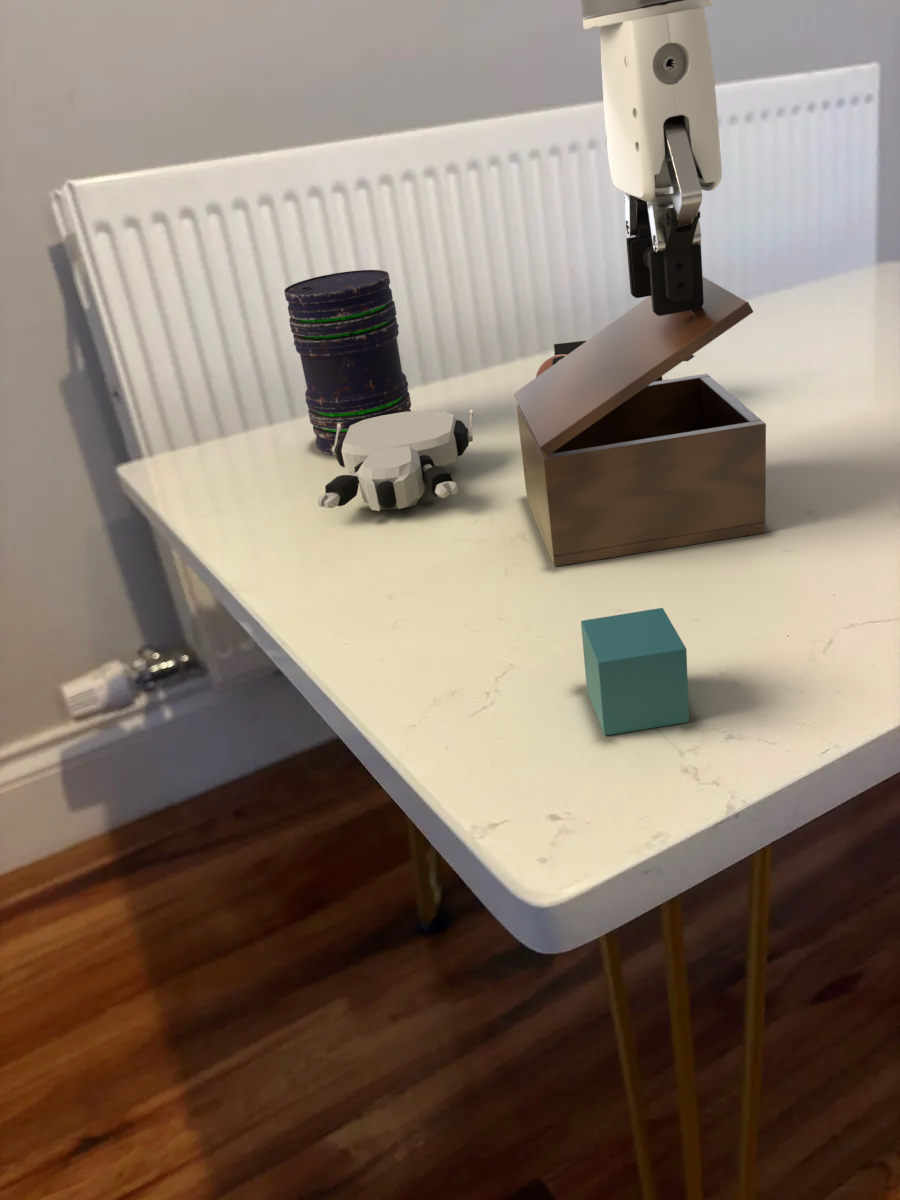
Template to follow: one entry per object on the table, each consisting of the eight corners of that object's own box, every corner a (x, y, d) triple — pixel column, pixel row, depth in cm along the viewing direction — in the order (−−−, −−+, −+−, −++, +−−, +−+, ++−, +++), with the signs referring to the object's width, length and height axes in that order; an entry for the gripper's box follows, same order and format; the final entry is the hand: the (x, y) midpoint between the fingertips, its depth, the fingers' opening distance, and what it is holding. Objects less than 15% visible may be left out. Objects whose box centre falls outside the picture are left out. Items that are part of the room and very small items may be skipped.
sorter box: (709, 469, 81) (706, 373, 77) (765, 532, 70) (766, 423, 66) (526, 499, 81) (516, 403, 77) (554, 567, 70) (543, 459, 66)
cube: (666, 677, 56) (662, 607, 54) (689, 722, 52) (686, 648, 50) (586, 690, 56) (580, 620, 54) (604, 736, 52) (597, 662, 50)
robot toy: (468, 525, 80) (479, 446, 92) (460, 473, 77) (472, 399, 90) (316, 539, 82) (347, 459, 94) (303, 488, 79) (337, 413, 92)
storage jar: (400, 414, 105) (376, 264, 98) (428, 440, 97) (403, 278, 90) (306, 436, 103) (274, 285, 96) (326, 464, 95) (292, 301, 88)
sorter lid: (694, 276, 74) (661, 219, 72) (754, 312, 63) (717, 246, 61) (518, 402, 77) (482, 351, 75) (546, 457, 66) (504, 398, 64)
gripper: (759, -36, 53) (766, 319, 61) (668, -11, 68) (684, 270, 76) (614, -8, 53) (642, 342, 61) (556, 10, 68) (585, 289, 76)
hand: (665, 299), depth 68 cm, fingers closed on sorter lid, 5 cm apart
